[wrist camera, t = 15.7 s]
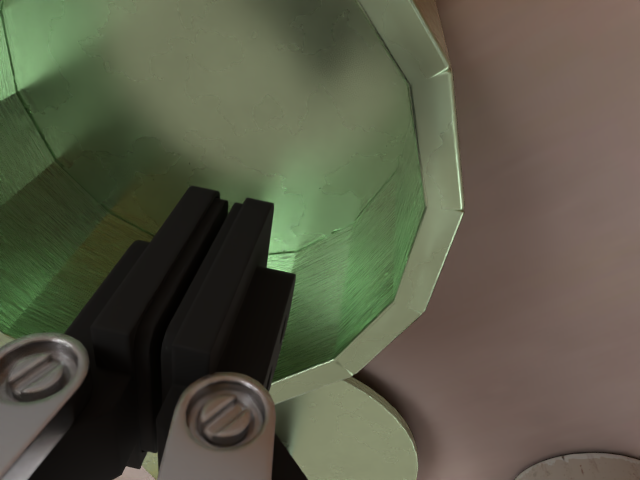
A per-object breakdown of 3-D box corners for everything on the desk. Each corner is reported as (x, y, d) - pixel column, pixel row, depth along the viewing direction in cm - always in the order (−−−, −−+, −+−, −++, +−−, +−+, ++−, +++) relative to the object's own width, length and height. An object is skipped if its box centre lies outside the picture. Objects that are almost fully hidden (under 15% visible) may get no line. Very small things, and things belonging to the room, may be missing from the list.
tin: (33, 223, 21) (-100, 350, 16) (-69, -259, 13) (-448, -361, 7) (379, 295, 21) (370, 450, 16) (515, -141, 13) (608, -149, 7)
